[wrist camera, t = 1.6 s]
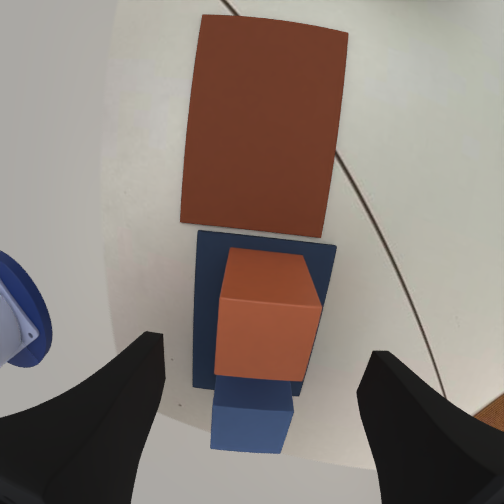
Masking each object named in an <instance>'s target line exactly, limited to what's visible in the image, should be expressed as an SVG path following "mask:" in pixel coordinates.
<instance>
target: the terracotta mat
mask: <svg viewBox="0 0 504 504" xmlns="http://www.w3.org/2000/svg"><path fill="white" fill-rule="evenodd" d="M347 44H348V33H346V32H342V31H338V30H333V29H329V28H324V27H319V26H313V25H308V24H302V23H296V22H289V21H282V20H274V19H266V18H256V17H245V16H230V15H202V20H201V26H200V32H199V38H198V45H197V52H196V58H195V66H194V73H193V81H192V89H191V97H190V106H189V115H188V124H187V134H186V145H185V156H184V168H183V182H182V197H181V214H180V222H182V223H192V224H202V225H212V226H221V227H230V228H240V229H249V230H258V231H267V232H276V233H284V234H293V235H301V236H310V237H318V238H321V235H322V230H323V224H324V219H325V213H326V207H327V201H328V195H329V189H330V183H331V176H332V170H333V163H334V156H335V149H336V142H337V135H338V127H339V120H340V112H341V103H342V95H343V86H344V76H345V66H346V55H347Z"/></svg>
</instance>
